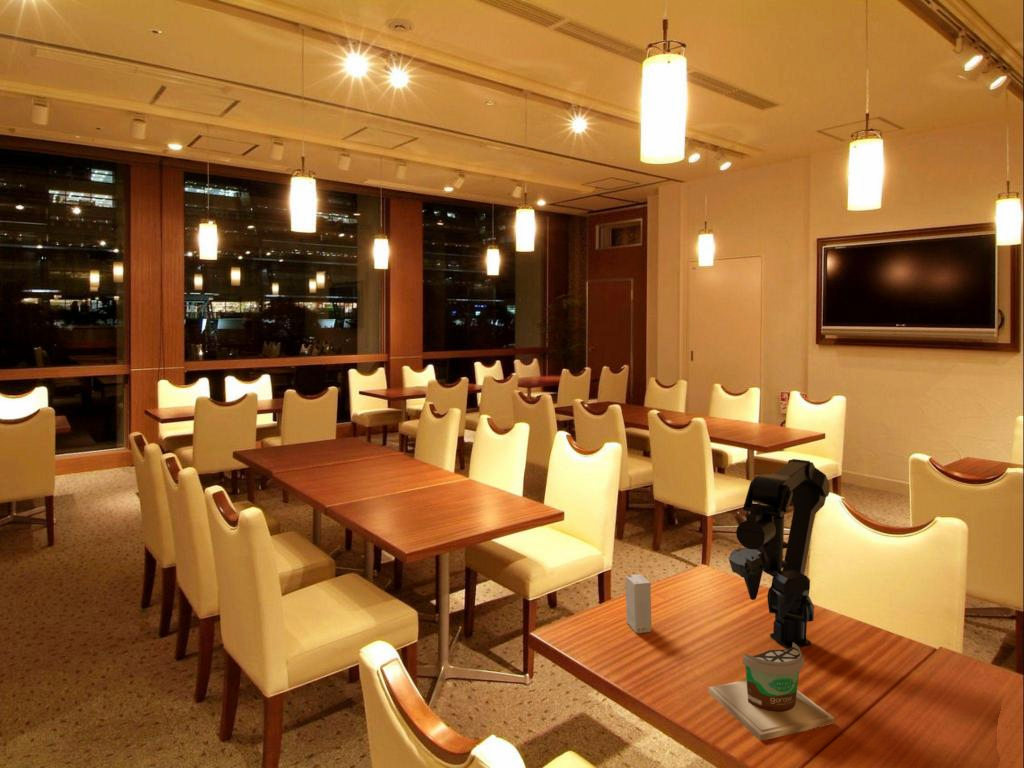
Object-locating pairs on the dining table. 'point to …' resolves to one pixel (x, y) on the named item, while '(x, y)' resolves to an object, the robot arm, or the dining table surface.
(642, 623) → the skincare box
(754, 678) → the food container
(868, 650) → the dining table surface
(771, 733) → the serving board
